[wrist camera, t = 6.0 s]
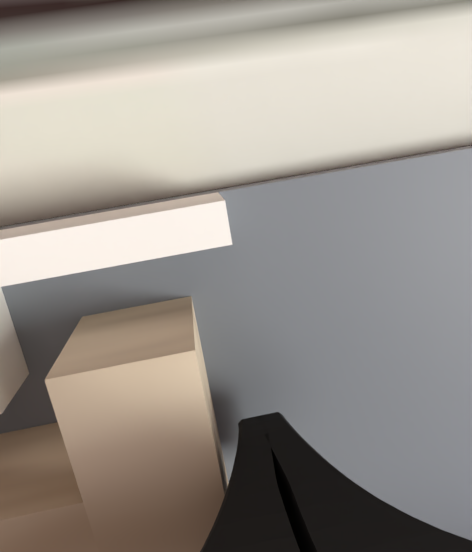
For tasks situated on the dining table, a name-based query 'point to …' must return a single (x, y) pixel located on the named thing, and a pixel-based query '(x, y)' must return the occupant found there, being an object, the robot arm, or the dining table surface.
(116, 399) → the t block
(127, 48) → the dining table surface
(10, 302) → the board
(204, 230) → the dock
